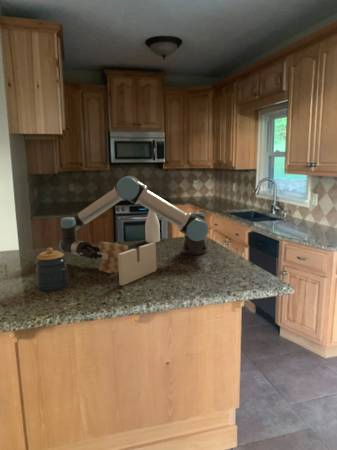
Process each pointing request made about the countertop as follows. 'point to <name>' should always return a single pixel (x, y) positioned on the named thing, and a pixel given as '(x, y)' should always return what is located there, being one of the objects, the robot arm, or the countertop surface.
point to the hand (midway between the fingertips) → (113, 254)
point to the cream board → (136, 263)
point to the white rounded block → (152, 228)
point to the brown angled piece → (110, 256)
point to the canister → (51, 271)
